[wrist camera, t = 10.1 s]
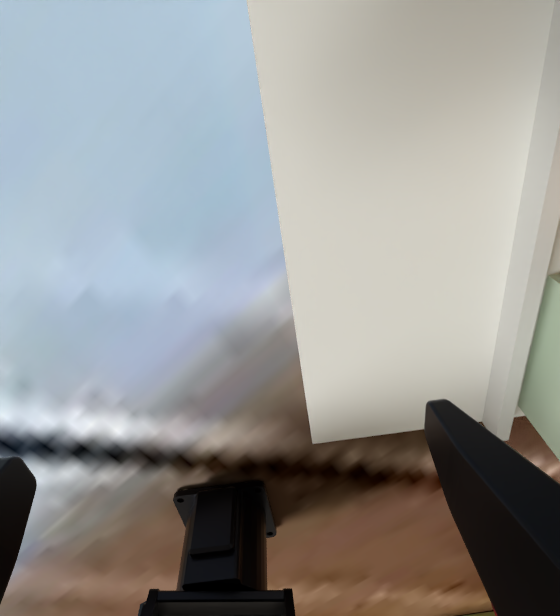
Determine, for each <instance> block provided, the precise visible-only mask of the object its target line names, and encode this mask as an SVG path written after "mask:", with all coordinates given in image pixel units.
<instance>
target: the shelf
mask: <svg viewBox="0 0 560 616" xmlns="http://www.w3.org/2000/svg"><path fill="white" fill-rule="evenodd" d="M247 6H248V13H249V19H250V26H251V33H252V40H253V46H254V53H255V60H256V67H257V73H258V80H259V87H260V94H261V100H262V107H263V114H264V121H265V127H266V134H267V141H268V148H269V154H270V161H271V168H272V174H273V181H274V188H275V195H276V201H277V208H278V215H279V222H280V228H281V235H282V242H283V249H284V255H285V262H286V269H287V276H288V282H289V289H290V296H291V303H292V309H293V316H294V323H295V330H296V336H297V343H298V350H299V356H300V363H301V370H302V377H303V383H304V390H305V397H306V404H307V410H308V417H309V424H310V431H311V437H312V444H317V443H324V442H332V441H339V440H347V439H354V438H362V437H369V436H377V435H384V434H392V433H399V432H407V431H414V430H421V429H424V422H425V408H426V403H427V402H428V401H430V400H437V399H447V400H449V401H451V402H452V403H453V404H455V405H456V406H457V407H458V408H460V409H461V410H462V411H464V412H465V413H466V414H468V415H469V416H470V417H472V418H473V419H474V420H476V421H477V422H481V421H482V422H483V424H484V425H485V427H486V428H487V429H488V430H489V431H490V432H492V433H493V434H494V435H496V436H497V437H498V438H500V439H501V440H502V441H506V440H509V436H510V431H511V427H512V423H513V418H514V417H519V416H525V414H524V413H523V412H522V410H521V409H520V408H519V406H518V402H519V398H520V394H521V390H522V385H523V381H524V377H525V372H526V368H527V364H528V359H529V355H530V351H531V347H532V342H533V338H534V334H535V329H536V325H537V321H538V316H539V312H540V308H541V303H542V299H543V295H544V291H545V286H546V282H547V278H548V275H554V274H560V0H247Z"/></svg>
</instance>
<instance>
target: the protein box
mask: <svg viewBox="0 0 560 616" xmlns="http://www.w3.org/2000/svg"><path fill="white" fill-rule="evenodd" d="M463 616H495V613H494V611H492V612H484V613H477V614H470V615H463Z"/></svg>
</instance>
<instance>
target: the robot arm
mask: <svg viewBox="0 0 560 616" xmlns="http://www.w3.org/2000/svg"><path fill="white" fill-rule="evenodd" d="M424 431H425V436H426V440H427V443H428V446H429V449H430V452H431V455H432V458H433V461H434V464H435V467H436V470H437V473H438V476H439V480H440V483H441V486H442V489H443V492H444V495H445V498H446V501H447V504H448V506H449V509H450V511H451V514H452V516H453V518H454V521H455V523H456V525H457V527H458V529H459V532H460V534H461V536H462V538H463V541H464V543H465V545H466V547H467V549H468V552H469V554H470V556H471V558H472V561H473V563H474V565H475V567H476V569H477V572H478V574H479V576H480V578H481V581H482V583H483V585H484V587H485V589H486V592H487V594H488V596H489V598H490V601H491V603H492V605H493V607H494V609H495V612H496V614H497V616H560V484H559V483H558V482H557V481H555V480H554V479H553V478H551V477H550V476H549V475H547V474H546V473H545V472H543V471H542V470H541V469H539V468H538V467H537V466H535V465H534V464H533V463H531V462H530V461H529V460H527V459H526V458H525V457H523V456H522V455H521V454H519V453H518V452H517V451H515V450H514V449H513V448H511V447H510V446H509V445H508V444H506V443H505V442H504V441H502V440H501V439H500V438H498V437H497V436H496V435H494V434H493V433H492V432H490V431H489V430H488V429H486V428H485V427H484V426H482V425H481V424H480V423H478V422H477V421H476V420H474V419H473V418H472V417H470V416H469V415H468V414H466V413H465V412H464V411H462V410H461V409H460V408H458V407H457V406H456V405H455V404H453V403H452V402H451V401H449V400H447V399H437V400H430V401H428V402H427V403H426V408H425V422H424ZM35 491H36V479H35V477H34V475H33V474H32V473H31V471H30V470H29V468H28V467H27V466H26V464H25V463H24V461H23V460H22V459H21V458H20V457H18V456H10V457H2V458H0V604H1V601H2V598H3V596H4V593H5V590H6V588H7V585H8V582H9V580H10V577H11V574H12V571H13V569H14V566H15V563H16V560H17V557H18V553H19V550H20V546H21V543H22V539H23V535H24V532H25V528H26V524H27V521H28V517H29V513H30V510H31V506H32V502H33V499H34V495H35ZM173 501H174V504H175V506H176V508H177V510H178V512H179V514H180V516H181V518H182V521H183V523H184V525H185V527H186V531H185V538H184V544H183V551H182V557H181V564H180V570H179V577H178V583H177V589H176V591H159V589H150V590H149V594H148V598H147V601H145V602H144V603H142V604H140V609H139V613H138V616H295V609H294V601H293V593H292V589H283V590H267V548H266V538H270V537H274V536H275V535H276V525H275V522H274V518H273V514H272V510H271V506H270V502H269V499H268V495H267V491H266V487H265V484H264V483H263V482H262V481H252V482H244V483H237V484H229V485H222V486H214V487H206V488H199V489H191V490H184V491H178V492H176V493H175V494H174V498H173Z"/></svg>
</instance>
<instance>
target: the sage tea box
mask: <svg viewBox="0 0 560 616" xmlns="http://www.w3.org/2000/svg"><path fill="white" fill-rule="evenodd" d="M518 406H519V408H520V409H521V410H522V412H523V413H524V414H525V416H526V417H527V418H528V420H529V421H530V422H531V424H532V425H533V426H534V428H535V429H536V430H537V432H538V433H539V434H540V436H541V437H542V438H543V440H544V441H545V442H546V443H547V445H548V446H549V447H550V449H551V450H552V451H553V453H554V454H555V455H556V457H557V458H558V459H559V461H560V274H554V275H548V278H547V282H546V286H545V291H544V295H543V299H542V303H541V308H540V312H539V316H538V321H537V325H536V329H535V334H534V338H533V342H532V347H531V351H530V355H529V359H528V364H527V368H526V372H525V377H524V381H523V385H522V390H521V394H520V398H519V402H518Z"/></svg>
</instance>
